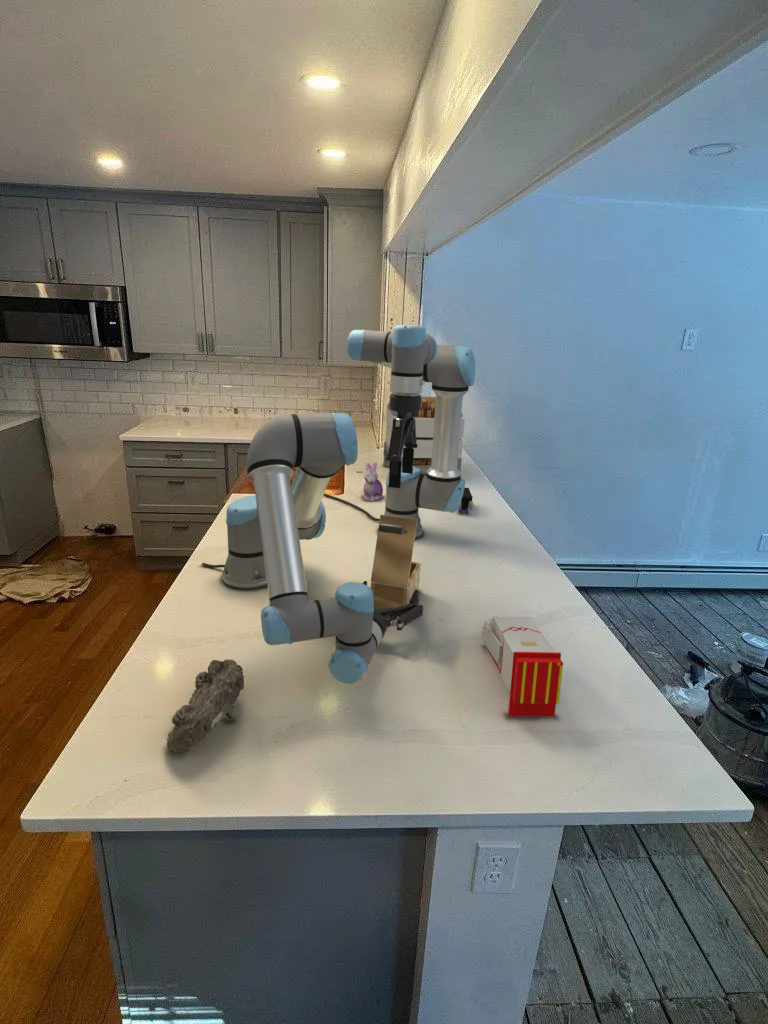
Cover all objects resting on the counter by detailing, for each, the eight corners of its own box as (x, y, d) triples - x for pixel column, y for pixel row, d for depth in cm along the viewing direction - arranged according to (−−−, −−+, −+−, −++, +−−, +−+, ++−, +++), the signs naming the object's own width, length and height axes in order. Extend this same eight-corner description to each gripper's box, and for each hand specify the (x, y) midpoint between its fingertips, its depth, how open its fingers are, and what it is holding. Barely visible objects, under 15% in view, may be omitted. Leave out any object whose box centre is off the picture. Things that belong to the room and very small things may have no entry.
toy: (528, 601, 136) (572, 659, 107) (523, 653, 139) (565, 722, 110) (478, 600, 136) (508, 657, 107) (474, 652, 139) (503, 722, 109)
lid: (381, 514, 146) (373, 512, 138) (417, 519, 143) (411, 517, 135) (371, 581, 145) (362, 582, 137) (407, 587, 143) (401, 588, 134)
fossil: (192, 660, 117) (244, 628, 112) (224, 691, 120) (276, 661, 115) (142, 746, 98) (202, 712, 93) (182, 779, 101) (242, 748, 96)
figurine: (367, 502, 230) (368, 467, 225) (357, 495, 238) (358, 460, 233) (388, 500, 234) (389, 465, 229) (377, 492, 242) (378, 458, 237)
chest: (386, 585, 162) (387, 557, 159) (418, 590, 160) (420, 563, 157) (369, 612, 147) (370, 582, 145) (405, 619, 145) (407, 588, 142)
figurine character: (473, 518, 221) (467, 502, 235) (475, 501, 218) (469, 485, 231) (455, 518, 221) (451, 501, 234) (457, 500, 218) (453, 485, 231)
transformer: (382, 463, 289) (386, 382, 275) (445, 464, 293) (451, 384, 279) (390, 482, 257) (394, 392, 243) (460, 483, 261) (468, 394, 247)
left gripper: (314, 636, 131) (344, 595, 150) (420, 656, 125) (437, 610, 144) (314, 607, 128) (345, 569, 148) (422, 627, 123) (439, 584, 142)
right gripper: (409, 402, 122) (404, 496, 129) (431, 388, 145) (425, 469, 152) (376, 399, 124) (372, 492, 131) (402, 386, 146) (398, 465, 154)
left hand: (390, 589), depth 146 cm, fingers open, 13 cm apart
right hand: (401, 479), depth 141 cm, fingers open, 13 cm apart
